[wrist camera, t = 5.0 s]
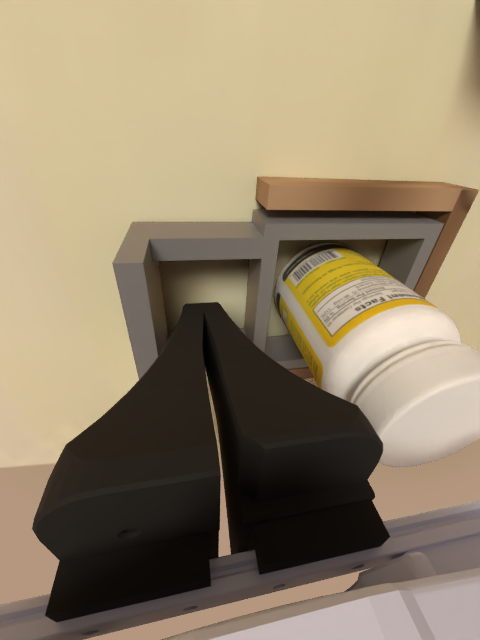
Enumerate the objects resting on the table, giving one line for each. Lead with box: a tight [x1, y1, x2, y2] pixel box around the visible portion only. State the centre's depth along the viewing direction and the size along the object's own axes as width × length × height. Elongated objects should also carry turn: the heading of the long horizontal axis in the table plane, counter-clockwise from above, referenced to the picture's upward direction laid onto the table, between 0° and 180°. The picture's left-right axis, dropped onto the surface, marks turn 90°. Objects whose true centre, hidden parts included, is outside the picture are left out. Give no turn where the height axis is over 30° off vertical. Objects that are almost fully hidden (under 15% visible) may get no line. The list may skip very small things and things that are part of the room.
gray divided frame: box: [112, 210, 444, 380], centre depth 12 cm, size 12×7×4 cm, turn 87°
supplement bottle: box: [274, 243, 480, 467], centre depth 11 cm, size 5×5×8 cm
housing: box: [256, 177, 479, 379], centre depth 14 cm, size 8×10×2 cm
